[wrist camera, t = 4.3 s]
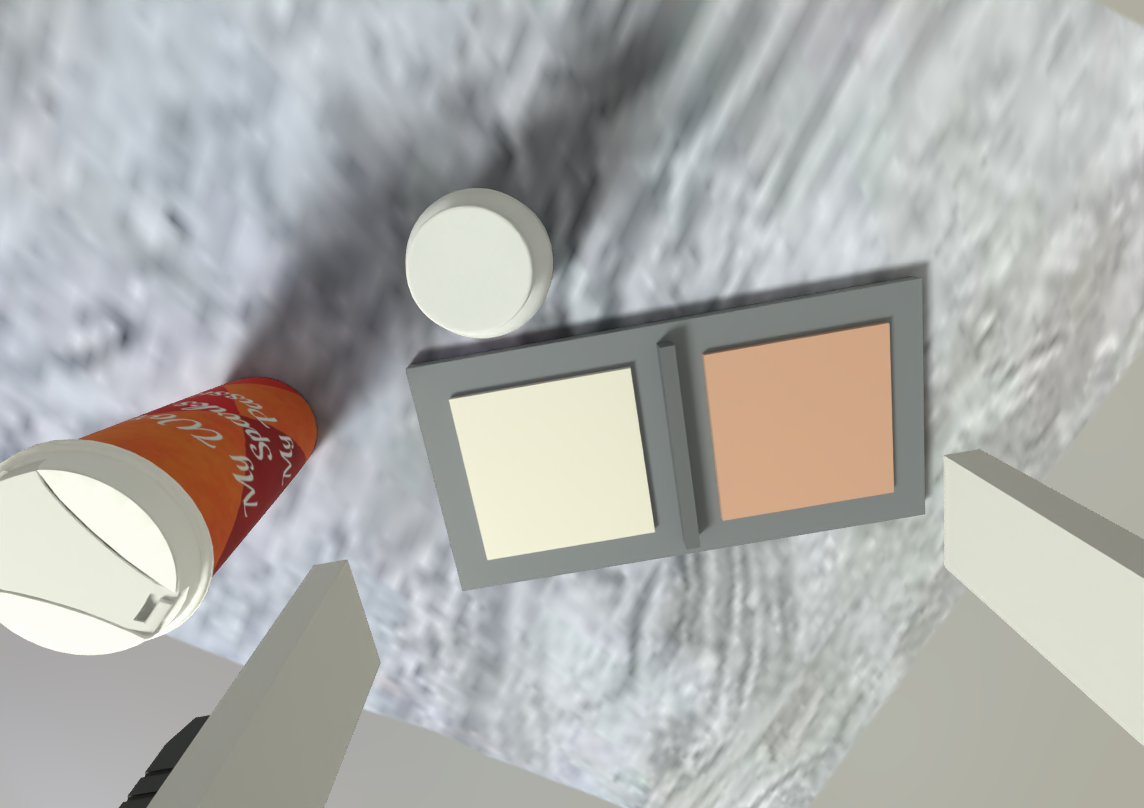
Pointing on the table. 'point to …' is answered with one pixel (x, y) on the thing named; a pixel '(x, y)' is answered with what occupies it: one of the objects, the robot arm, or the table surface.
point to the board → (679, 434)
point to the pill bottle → (479, 263)
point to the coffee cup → (142, 514)
